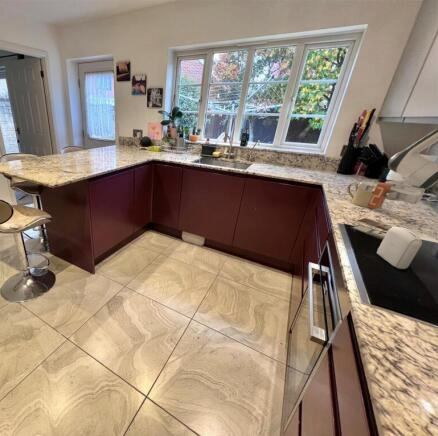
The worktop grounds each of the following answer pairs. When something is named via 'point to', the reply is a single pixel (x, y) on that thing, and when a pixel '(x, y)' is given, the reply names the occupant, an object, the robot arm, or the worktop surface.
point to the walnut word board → (375, 224)
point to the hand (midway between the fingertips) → (379, 193)
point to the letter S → (379, 195)
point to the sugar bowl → (360, 196)
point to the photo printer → (399, 247)
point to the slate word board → (370, 231)
